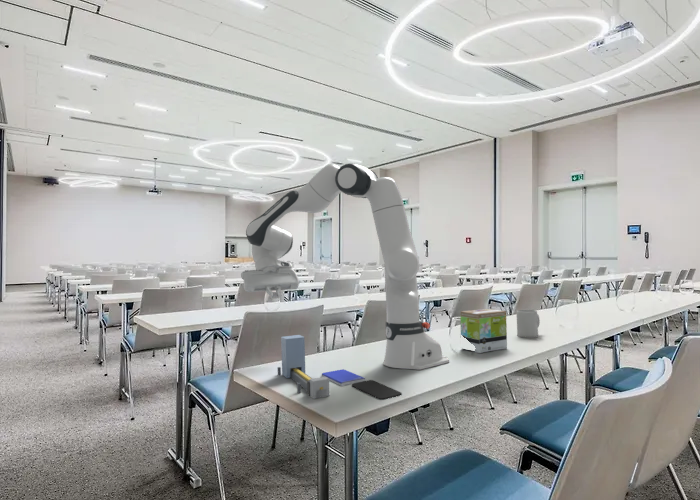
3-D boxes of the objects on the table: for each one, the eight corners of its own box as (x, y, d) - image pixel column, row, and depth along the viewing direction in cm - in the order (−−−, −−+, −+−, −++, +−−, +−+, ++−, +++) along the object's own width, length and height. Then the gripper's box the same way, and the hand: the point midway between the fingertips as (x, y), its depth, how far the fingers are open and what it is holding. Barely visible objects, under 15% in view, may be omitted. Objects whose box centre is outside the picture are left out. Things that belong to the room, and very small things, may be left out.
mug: (529, 338, 176) (528, 312, 176) (513, 335, 184) (512, 310, 184) (547, 335, 182) (546, 310, 182) (530, 332, 189) (529, 308, 190)
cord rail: (302, 370, 135) (302, 357, 135) (336, 394, 109) (335, 377, 109) (277, 374, 131) (276, 360, 131) (306, 399, 106) (305, 382, 106)
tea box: (480, 354, 150) (479, 313, 151) (460, 349, 159) (458, 311, 159) (508, 348, 158) (506, 309, 158) (487, 344, 166) (485, 307, 167)
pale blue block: (300, 371, 133) (299, 334, 133) (305, 375, 128) (304, 337, 128) (282, 374, 130) (281, 336, 130) (286, 378, 126) (285, 339, 126)
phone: (380, 399, 104) (350, 384, 117) (380, 402, 104) (350, 387, 117) (403, 393, 107) (371, 379, 120) (403, 396, 107) (372, 382, 120)
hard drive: (365, 377, 121) (344, 368, 132) (341, 382, 117) (321, 372, 128) (365, 382, 121) (344, 373, 132) (341, 387, 117) (321, 378, 127)
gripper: (241, 264, 150) (247, 293, 141) (295, 263, 159) (304, 290, 150) (239, 276, 154) (244, 305, 145) (292, 274, 163) (300, 301, 154)
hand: (275, 297), depth 147 cm, fingers closed
